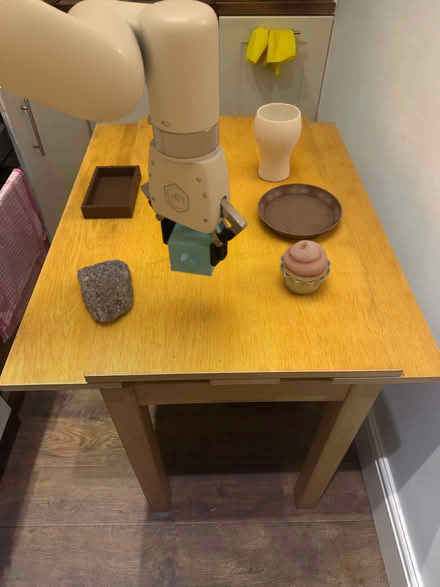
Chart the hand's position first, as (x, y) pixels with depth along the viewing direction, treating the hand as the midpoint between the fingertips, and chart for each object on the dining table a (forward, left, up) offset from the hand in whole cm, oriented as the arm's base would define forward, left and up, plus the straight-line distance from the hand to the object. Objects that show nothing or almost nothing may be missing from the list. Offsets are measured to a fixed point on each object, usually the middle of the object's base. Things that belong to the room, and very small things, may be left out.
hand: (194, 249), depth 59 cm
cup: (-11, +46, -16) cm, 50 cm away
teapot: (0, 0, -4) cm, 4 cm away
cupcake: (+11, +16, -16) cm, 25 cm away
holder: (-38, +18, -15) cm, 45 cm away
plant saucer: (+2, +33, -16) cm, 37 cm away
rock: (-16, -5, -16) cm, 23 cm away
